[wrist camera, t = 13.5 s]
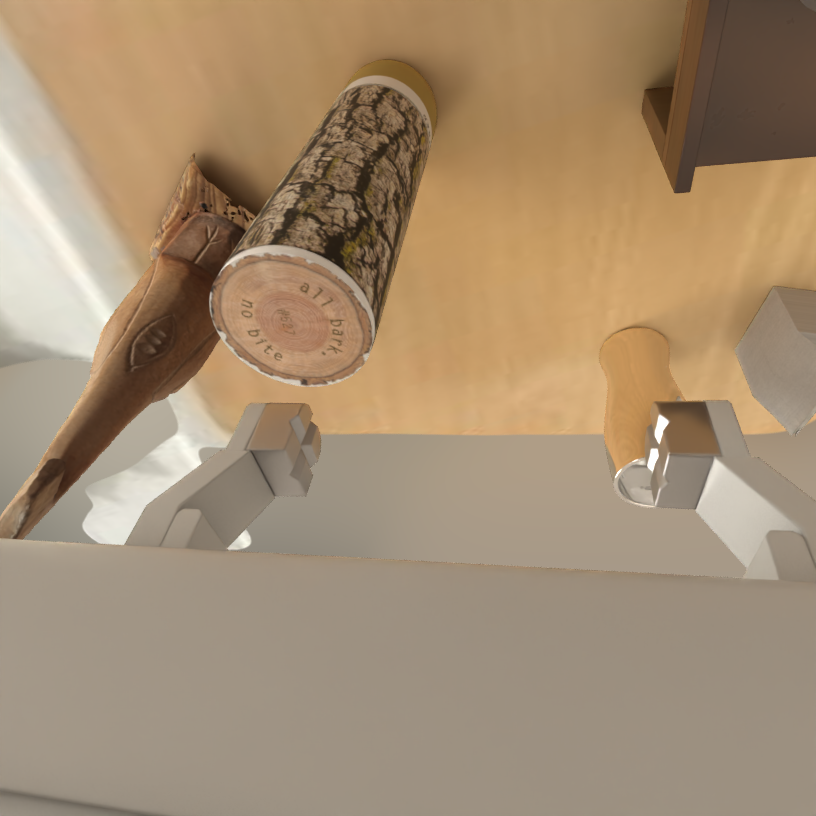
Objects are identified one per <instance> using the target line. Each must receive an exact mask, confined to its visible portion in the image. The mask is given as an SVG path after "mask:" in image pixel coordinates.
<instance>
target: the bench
mask: <svg viewBox="0 0 816 816" xmlns="http://www.w3.org/2000/svg"><path fill="white" fill-rule="evenodd" d="M642 115H643V118H644V120H645V123H646V125H647V128H648V130H649V132H650V135H651V137H652V140H653V142H654V145H655V147H656V150H657V152H658V155H659V157H660V160H661V162H662V164H663V167H664V169H665V171H666V174H667V176H668V179H669V181H670V184H671V186H672V189H673V191H674V193H686V192H690V190H691V185H692V180H693V175H694V171H695V167H699V166H711V165H723V164H734V163H746V162H757V161H769V160H781V159H792V158H804V157H815V156H816V12H815V11H814V10H812V9H810V8H808V7H806V6H805V5H804V4H803V3H802V2H801V1H800V0H688V2H687V8H686V14H685V21H684V27H683V33H682V39H681V45H680V52H679V58H678V64H677V70H676V76H675V83H674V86H671V87H663V88H654V89H646V90H645V91H644V99H643V107H642Z"/></svg>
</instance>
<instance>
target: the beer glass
mask: <svg viewBox="0 0 816 816" xmlns="http://www.w3.org/2000/svg"><path fill="white" fill-rule="evenodd" d="M599 362H600V365H601V367H602V369H603V371H604V374H605V376H606V379H607V388H608V389H607V400H606V408H605V418H604V438H605V447H606V454H607V459H608V464H609V468H610V472H611V476H612V480H613V487H614V490H615V492H616V493H617V495H618V496H619V497H620V498H621V499H623V500H624V501H626V502H628V503H630V504H632V505H635V506H639V507H645V508H660V507H655V505H654V500H653V495H652V490H651V485H650V481H651V477H652V473H653V472H652V471H651V470H650V469H648V468H647V464H646V458H645V435H646V430H647V427H648V426H649V425H650V424H652V422H651V417H650V411H651V406H652V404H653V402H654V401H686V399H685V398H684V396H683V394H682V392H681V391H680V389H679V387H678V386H677V384H676V382H675V380H674V379H673V377H672V374H671V371H670V349H669V344H668V342H667V340H666V339H665V337H664V336H663V335H662V334H660V333H659V332H657V331H655V330H652V329H648V328H630V329H625V330H622V331H620V332H618V333H616V334H614V335H612V336H611V337H610V338H608V339H607V340H606V341H605V343H604V344H603V345H602V347H601V349H600V353H599Z"/></svg>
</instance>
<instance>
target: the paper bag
mask: <svg viewBox="0 0 816 816" xmlns="http://www.w3.org/2000/svg"><path fill="white" fill-rule="evenodd" d="M735 353H736V355H737V358H738V360H739V363H740V365H741V368H742V370H743V373H744V375H745V378H746V380H747V383H748V385H749V388H750V390H751V393H752V395H753V397H754V398H755V399H756V400H757V401H758V402H759V403H760V404H761V405H763V406H764V407H765V408H766V409H767V410H768V411H769V412H770V413H771V414H772V415H773V416H774V417H775V418H776V419H777V420H778V421H779V422H780V423H781V425H782V426H783V427H784V428H785V429H786V430H787V432H788V433H789V434H790V436H792V435H793V434H794V433H795V436H796V435H797V434H798V433H799V432H800V431H801V430H802V428H803V427H804V426H805V425H806V424H807V423H808V421H809V420H810V419H811V418H812V417H813V415H814V414H815V413H816V291H810V290H802V289H794V288H786V287H777V286H773V288H772V290H771V291H770V293H769V295H768V296H767V298H766V299H765V301H764V303H763V304H762V306H761V308H760V309H759V311H758V312H757V314H756V316H755V317H754V319H753V321H752V322H751V324H750V325H749V327H748V329H747V330H746V332H745V334H744V335H743V337H742V338H741V340H740V342H739V343H738V345H737V347H736V348H735Z"/></svg>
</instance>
